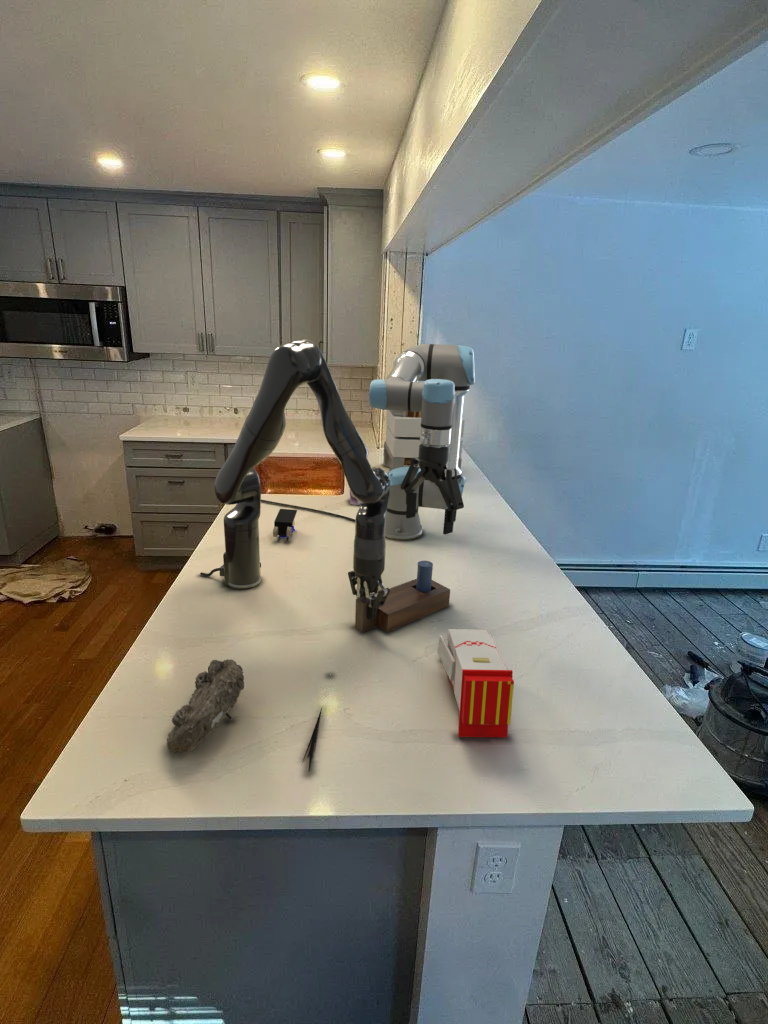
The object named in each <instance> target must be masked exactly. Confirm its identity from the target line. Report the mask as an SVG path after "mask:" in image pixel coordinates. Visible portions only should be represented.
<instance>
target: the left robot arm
mask: <svg viewBox="0 0 768 1024" xmlns="http://www.w3.org/2000/svg"><path fill="white" fill-rule="evenodd" d="M305 384H307V385H308V387H309V388H310V390H311V391H312V393H313V394H314V396H315V398H316V401H317V404H318V407H319V412H320V418H321V425H322V429H323V434H324V438H325V440H326V442H327V443H328V446H329V447H330V449H331V451H332V452H333V453H334V455H335V457H336V458H337V461H338V462H339V463H340V465H341V467H342V471H343V474H344V477H345V480H346V481H347V482H346V483H347V485H348V487H349V491H350V490H351V492H352V493H353V495H354V496H355V497H356V499H357V500H358V501H360V502H361V504H360V505H359V509H358V510H357V512H356V514H355V520H356V521H354V522H355V523H354V525H355V526H354V527H355V528H354V539H353V552H352V553H353V555H352V569H353V570H351V571H348V572H347V577H348V580H349V584H350V590H351V593H352V595H353V596H356V599H357V598H360V597H363V596H365V595H366V598H367V599H368V616H367V619H368V620H370V621H371V620H373V619H375V618H376V617H377V608H378V607H380V606H383V605H384V603H385V601H386V599H387V597H388V594H389V592H390V588H389V587H385V586H384V585H383V580H382V575H383V573H384V571H385V566H386V547H387V546H386V537H385V516H386V511H387V506H388V501H389V495H390V479H389V476H388V473H387V472H386V471H385V470H384V469H383V468H381V467H372V466H371V463H370V462H369V458H368V456H369V449H368V446H367V445H366V443H365V442H364V439H363V438H362V436H361V435H360V433H359V431H358V429H357V428H356V426H355V424H354V422H353V421H352V419H351V417H350V415H349V412H348V411H347V409H346V408H345V404H344V403H343V400H342V397H341V395H340V393H339V390H338V388H337V385H336V382H335V380H334V378H333V375H332V372H331V370H330V368H329V365H328V363H327V360H326V358H325V356H324V354H323V352H322V350H321V348H320V347H319V346H318V344H317V343H315V342H314V341H313V340H311V339H308V338H300V339H297V340H293V341H290V342H287V343H283V344H280V345H279V346H278V347H276V348H275V349H273V351H272V353H271V354H270V357H269V359H268V362H267V365H266V368H265V371H264V374H263V377H262V381H261V385H260V388H259V391H258V393H257V394H256V397H255V399H254V401H253V404H252V406H251V408H250V410H249V412H248V414H247V417H246V419H245V420H244V423H243V424H242V428H241V430H240V432H239V435H238V437H237V439H236V442H235V444H234V445H233V447H232V449H231V451H230V454H229V455H228V457H227V458H226V460H225V462H224V463H223V465H222V466H221V467H220V469H219V471H218V473H217V475H216V477H215V480H214V495H215V497H216V499H217V500H218V501H219V503H221V504H223V505H227V506H231V505H234V507H233V508H232V509H231V510H229V511H228V512H226V514H225V515H224V516H223V532H224V533H223V534H224V547H225V548H224V552H223V554H222V558H223V559H222V561H223V563H222V565H221V566H220V567H218V568H214V569H212V570H210V572H208V573H206V572H200V573H199V575H200V576H203V577H210V576H212V575H213V574H214V573H216V572H219V576H220V577H224V586H228V587H230V588H233V589H238V590H239V589H240V590H243V589H251V588H254V587H256V586H258V585H259V584H260V583H261V582H262V576H261V568H262V563H261V555H260V527H259V524H260V523H259V520H260V517H261V512H262V511H261V510H262V509H261V507H262V505H261V504H262V503H261V502H262V501H261V500H262V486H261V485H262V484H261V479H260V476H259V474H258V471H256V469H255V468H256V467H257V466H258V465H259V464H261V463H262V462H263V461H265V460H266V459H267V458H268V457H269V456H270V455H272V453H273V452H275V450H276V448H277V446H278V445H279V442H280V441H281V439H282V437H283V435H284V433H285V429H286V426H287V425H286V423H287V422H286V421H287V420H286V412H285V410H286V407H287V405H288V402H289V401H290V399H291V397H292V396H293V394H294V392H295V391H296V390H297V389H298V388H299V387H300V386H303V385H305ZM371 593H372V594H371ZM373 598H374V601H373V602H372V599H373Z"/></svg>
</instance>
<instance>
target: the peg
mask: <svg viewBox="0 0 768 1024" xmlns="http://www.w3.org/2000/svg"><path fill="white" fill-rule="evenodd" d="M433 569H434V563H433V562H432V561H430V560H419V561H418V562H417V570H416V579H417V582H416V590H418V591H420V592H422V593H426V592H429V591H431V583H432V580H433Z"/></svg>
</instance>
